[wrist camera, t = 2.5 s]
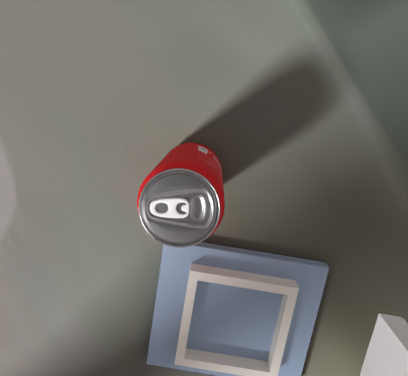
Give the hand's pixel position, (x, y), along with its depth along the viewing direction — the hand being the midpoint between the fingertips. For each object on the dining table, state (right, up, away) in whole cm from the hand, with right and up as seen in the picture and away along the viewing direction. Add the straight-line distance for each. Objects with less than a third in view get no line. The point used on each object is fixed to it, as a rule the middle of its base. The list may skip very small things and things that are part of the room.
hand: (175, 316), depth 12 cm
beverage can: (0, +6, +21) cm, 21 cm away
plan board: (+4, -8, +23) cm, 25 cm away
